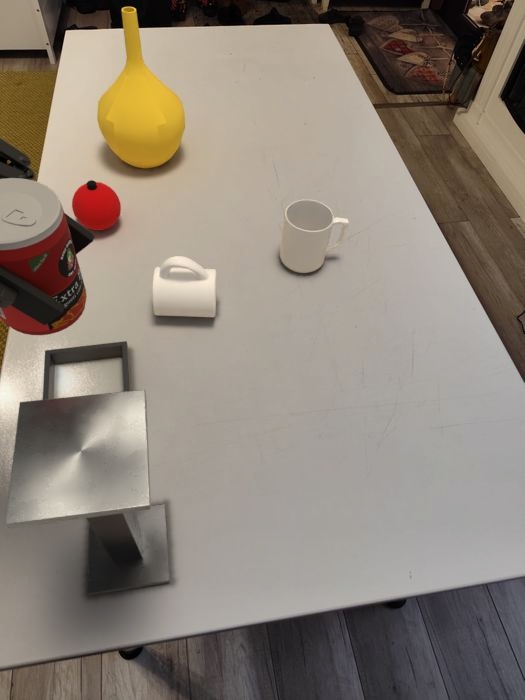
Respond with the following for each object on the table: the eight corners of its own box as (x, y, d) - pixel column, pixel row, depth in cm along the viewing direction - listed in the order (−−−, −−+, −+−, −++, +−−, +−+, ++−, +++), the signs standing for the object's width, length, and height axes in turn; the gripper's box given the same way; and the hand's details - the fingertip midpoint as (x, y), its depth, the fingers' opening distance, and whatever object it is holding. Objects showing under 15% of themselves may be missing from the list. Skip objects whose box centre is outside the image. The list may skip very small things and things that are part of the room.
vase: (98, 178, 112) (66, 28, 88) (112, 130, 123) (86, -15, 99) (183, 182, 113) (175, 36, 89) (189, 135, 124) (183, -7, 100)
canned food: (70, 345, 45) (36, 251, 36) (-19, 329, 46) (-73, 232, 37) (101, 283, 50) (77, 186, 41) (20, 268, 50) (-20, 169, 41)
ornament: (75, 212, 105) (64, 170, 97) (120, 207, 107) (113, 165, 99) (79, 242, 100) (67, 200, 92) (126, 236, 102) (119, 194, 94)
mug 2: (282, 277, 99) (289, 232, 90) (275, 245, 104) (281, 199, 95) (343, 274, 101) (356, 230, 92) (333, 242, 106) (344, 197, 97)
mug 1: (214, 326, 91) (214, 279, 81) (155, 324, 90) (147, 276, 80) (216, 291, 96) (216, 242, 86) (160, 289, 95) (153, 240, 85)
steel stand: (84, 600, 64) (4, 524, 40) (87, 512, 70) (19, 401, 46) (174, 586, 66) (149, 505, 42) (169, 501, 72) (145, 389, 48)
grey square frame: (133, 418, 79) (130, 408, 77) (47, 430, 77) (41, 420, 75) (129, 351, 86) (126, 340, 84) (49, 360, 84) (44, 350, 82)
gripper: (-172, 29, 40) (82, 221, 53) (-401, 196, 27) (3, 393, 40) (-140, -46, 35) (127, 183, 48) (-395, 112, 23) (54, 362, 36)
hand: (70, 278), depth 44 cm, fingers closed on canned food, 8 cm apart
